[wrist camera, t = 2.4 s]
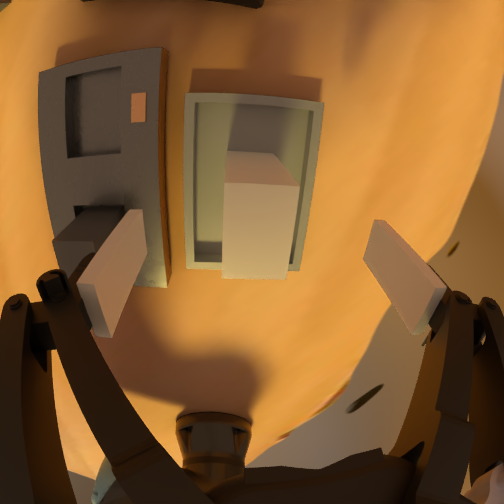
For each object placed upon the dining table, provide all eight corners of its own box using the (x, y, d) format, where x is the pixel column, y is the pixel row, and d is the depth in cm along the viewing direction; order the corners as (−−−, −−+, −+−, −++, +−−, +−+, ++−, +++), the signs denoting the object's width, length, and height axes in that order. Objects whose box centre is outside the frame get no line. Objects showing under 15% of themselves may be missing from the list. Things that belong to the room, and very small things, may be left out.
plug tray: (295, 260, 30) (299, 271, 28) (188, 257, 28) (186, 268, 27) (317, 102, 22) (324, 102, 20) (188, 93, 21) (185, 92, 19)
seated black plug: (131, 261, 27) (109, 305, 21) (97, 259, 27) (70, 301, 21) (123, 206, 24) (93, 241, 18) (87, 206, 24) (51, 240, 18)
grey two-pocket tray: (171, 273, 29) (166, 288, 27) (75, 268, 28) (66, 282, 26) (168, 52, 18) (161, 46, 16) (53, 72, 17) (37, 72, 15)
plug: (267, 216, 26) (286, 279, 18) (224, 215, 26) (221, 278, 17) (273, 153, 23) (300, 186, 15) (226, 150, 23) (224, 182, 14)
